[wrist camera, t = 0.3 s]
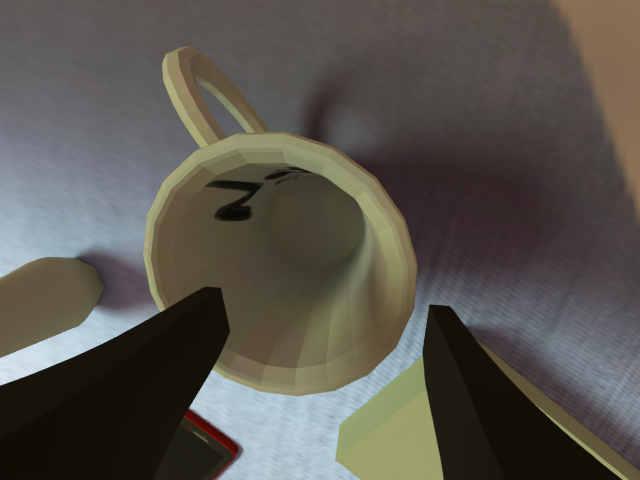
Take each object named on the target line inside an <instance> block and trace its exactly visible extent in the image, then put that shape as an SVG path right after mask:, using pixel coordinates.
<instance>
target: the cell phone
mask: <svg viewBox="0 0 640 480" xmlns="http://www.w3.org/2000/svg"><path fill="white" fill-rule="evenodd" d="M237 451H238V447H237V445H236V444H235V443H234V442H232V441H231V440H230V439H229V438H227V437H226V436H224V435H223V434H222V433H220V432H219V431H218V430H216V429H215V428H213V427H212V426H211V425H209V424H208V423H207V422H205V421H204V420H202V419H201V418H200V417H198V416H197V415H196V414H194V413H193V412H191V411H190V410H189V409H188V410H187V412H186V414H185V415H184V417H183V419H182V421H181V423H180V424H179V426H178V428H177V430H176V432H175V434H174V436H173V438H172V440H171V442H170V444H169V446H168V448H167V451H166V453H165V455H164V457H163V459H162V461H161V463H160V465H159V468H158V470H157V472H156V474H155V476H154V479H153V480H214V479H215V478H216V477H217V476H218V475H219V474H220V473H221V472H222V471H223V470H224V469H225V468H226V467H227V466H228V465H229V464H230V463H231V461H232V460H233V459H234V457H235V455H236V453H237ZM231 458H232V459H231Z"/></svg>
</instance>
